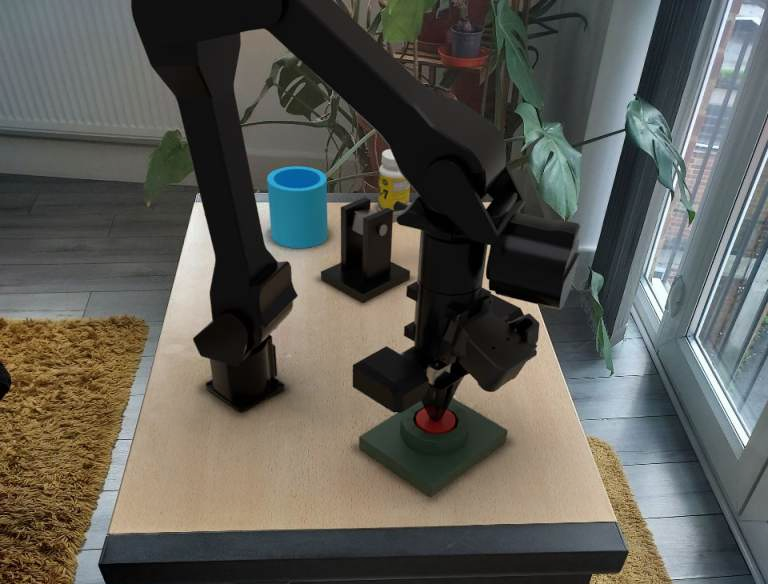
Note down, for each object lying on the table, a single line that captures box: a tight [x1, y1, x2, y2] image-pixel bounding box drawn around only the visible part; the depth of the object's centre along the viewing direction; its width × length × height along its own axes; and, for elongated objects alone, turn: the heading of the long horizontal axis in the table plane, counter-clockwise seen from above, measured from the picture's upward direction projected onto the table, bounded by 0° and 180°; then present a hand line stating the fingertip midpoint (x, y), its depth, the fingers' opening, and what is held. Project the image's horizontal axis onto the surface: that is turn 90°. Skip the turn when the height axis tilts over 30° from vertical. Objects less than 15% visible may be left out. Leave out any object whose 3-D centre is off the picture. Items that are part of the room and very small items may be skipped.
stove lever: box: [352, 201, 408, 235], centre depth 103 cm, size 11×6×2 cm, turn 136°
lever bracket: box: [320, 196, 411, 303], centre depth 102 cm, size 9×8×10 cm
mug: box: [266, 165, 329, 249], centre depth 112 cm, size 12×8×8 cm
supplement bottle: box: [377, 148, 411, 212], centre depth 118 cm, size 5×5×8 cm
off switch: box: [358, 397, 509, 498], centre depth 81 cm, size 12×10×4 cm
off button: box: [416, 408, 455, 435], centre depth 80 cm, size 4×4×2 cm
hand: (435, 418), depth 80 cm, fingers closed, pressing on off button
